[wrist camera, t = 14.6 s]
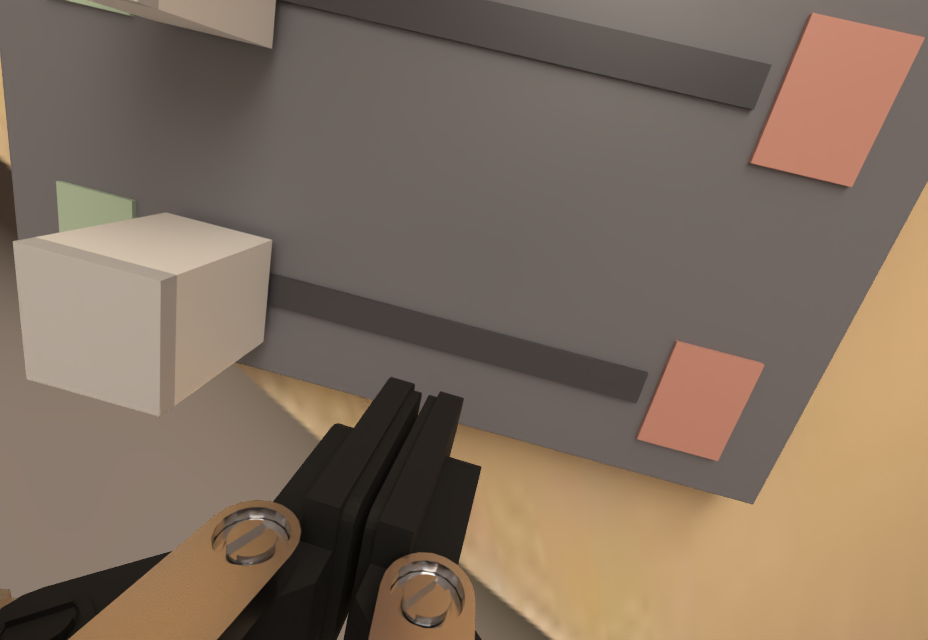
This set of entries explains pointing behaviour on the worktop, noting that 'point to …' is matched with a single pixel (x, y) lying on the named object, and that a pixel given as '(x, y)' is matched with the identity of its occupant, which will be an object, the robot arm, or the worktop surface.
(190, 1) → the on switch
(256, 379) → the worktop surface
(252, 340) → the beige slider knob
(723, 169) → the panel
